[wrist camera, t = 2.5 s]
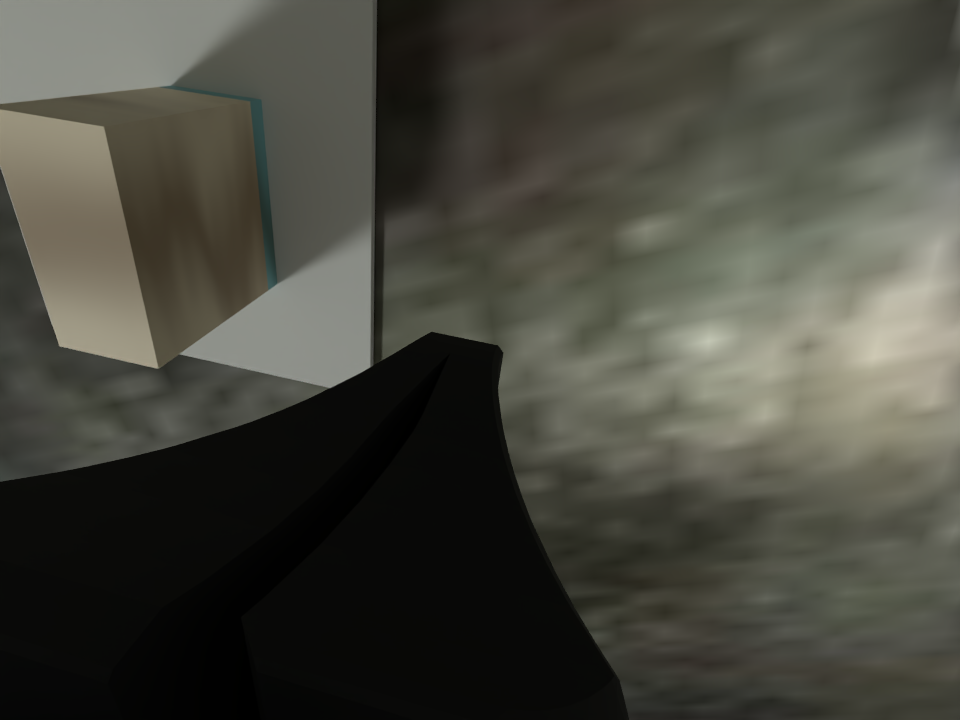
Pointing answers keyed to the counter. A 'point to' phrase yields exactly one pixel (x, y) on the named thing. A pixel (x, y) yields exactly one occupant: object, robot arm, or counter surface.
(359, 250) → the grey rubber mat
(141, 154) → the maple block
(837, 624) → the counter surface
